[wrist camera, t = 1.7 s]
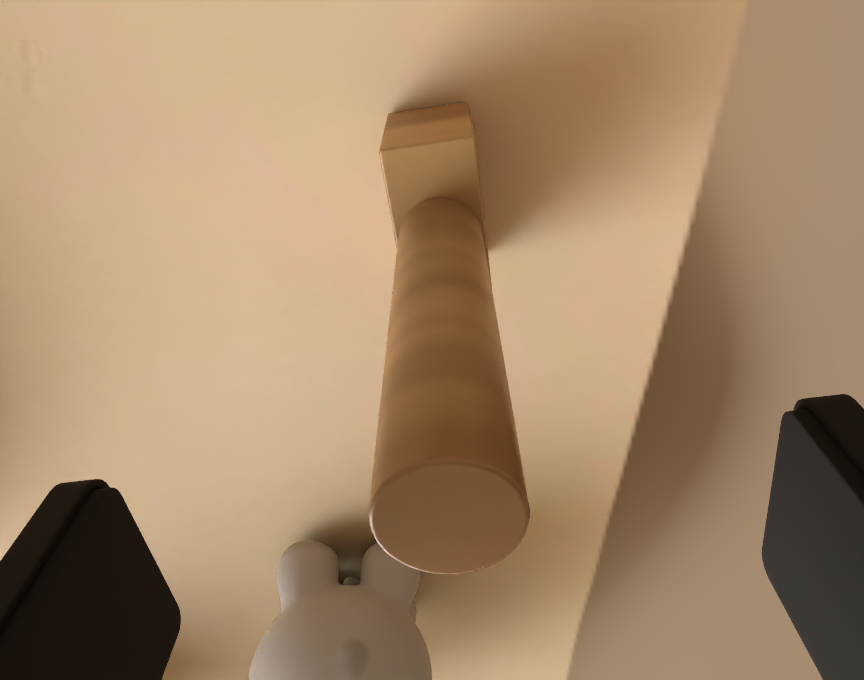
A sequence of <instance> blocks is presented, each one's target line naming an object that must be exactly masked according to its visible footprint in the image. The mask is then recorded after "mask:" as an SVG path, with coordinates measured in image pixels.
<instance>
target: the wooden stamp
mask: <svg viewBox="0 0 864 680" xmlns="http://www.w3.org/2000/svg"><path fill="white" fill-rule="evenodd" d="M379 155H380V160H381V165H382V171H383V176H384V181H385V187H386V192H387V198H388V203H389V208H390V214H391V219H392V224H393V230H394V235H395V240H396V246H397V256H396V265H395V274H394V283H393V292H392V301H391V310H390V320H389V329H388V338H387V347H386V356H385V365H384V374H383V384H382V393H381V402H380V411H379V420H378V429H377V438H376V448H375V457H374V466H373V475H372V484H371V493H370V502H369V524H370V528H371V531H372V533H373V535H374V537H375V539H376V541H377V543H378V544H379V545H380V546H381V548H382V549H383V550H384V551H385V552H386V553H387V554H388V555H390V556H391V557H392V558H394V559H395V560H397V561H398V562H400V563H402V564H404V565H406V566H409V567H411V568H414V569H417V570H420V571H424V572H429V573H436V574H460V573H467V572H472V571H476V570H480V569H483V568H485V567H488V566H490V565H492V564H495V563H496V562H498V561H500V560H502V559H503V558H504V557H506V556H507V555H508V554H510V553H511V552H512V551H513V550H514V549H515V548H516V547H517V545H518V544H519V543H520V542H521V540H522V538H523V536H524V535H525V532H526V529H527V527H528V523H529V518H530V509H529V503H528V497H527V491H526V486H525V480H524V474H523V468H522V462H521V456H520V451H519V445H518V439H517V433H516V427H515V422H514V416H513V410H512V404H511V398H510V392H509V387H508V381H507V375H506V369H505V363H504V358H503V352H502V346H501V340H500V334H499V329H498V323H497V317H496V311H495V305H494V299H493V294H492V285H491V276H490V267H489V258H488V249H487V240H486V231H485V222H484V213H483V203H482V194H481V185H480V176H479V167H478V158H477V149H476V140H475V134H474V130H473V125H472V121H471V116H470V112H469V107H468V104H467V102H462V103H455V104H449V105H442V106H436V107H429V108H422V109H416V110H409V111H402V112H396V113H390V114H388V117H387V121H386V125H385V129H384V133H383V138H382V142H381V146H380V150H379Z"/></svg>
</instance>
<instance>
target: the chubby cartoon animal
mask: <svg viewBox="0 0 864 680" xmlns="http://www.w3.org/2000/svg"><path fill="white" fill-rule="evenodd" d="M338 575H339V563H338V558H337V556H336V554H335V552H334V551H333V550H332V549H331V548H330V547H328V546H327V545H324V544H322V543H320V542H317V541H312V540H306V541H300V542H297V543H295V544H293V545H292V546H291V547H289V548H288V549H287V550H286V551H285V552H284V554H283V555H282V557H281V559H280V562H279V565H278V571H277V586H278V592H279V596H280V601H281V612H280V614H279V615H278V617H277V618H276V619H275V620H274V621H273V623H272V624H271V625H270V626H269V628H268V629H267V631H266V632H265V634H264V635H263V637H262V639H261V641H260V643H259V645H258V647H257V649H256V652H255V654H254V657H253V660H252V664H251V667H250V672H249V678H248V680H432V670H431V663H430V658H429V653H428V650H427V647H426V644H425V641H424V639H423V637H422V635H421V633H420V631H419V629H418V627H417V626H416V624H415V620H416V602H415V600H414V597H415V595H416V592H417V589H418V586H419V582H420V577H421V571H420V570H417V569H414V568H411V567H409V566H406V565H404V564H402V563H400V562H398V561H397V560H395V559H394V558H392V557H391V556H390V555H388V554H387V553H386V552H385V551H384V550H383V549H382V548H381V546H380V545H379V544H378V543H376V544H374V545H372V546H371V547H370V548H369V549H368V550H367V551H366V552H365V554H364V557H363V560H362V564H361V580H360V583H359V581H358V580H357V579H355V578H353V577H348V578H346V579H345V580H344V582H343V585H341V584H339V582H338Z"/></svg>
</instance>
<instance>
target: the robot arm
mask: <svg viewBox="0 0 864 680" xmlns="http://www.w3.org/2000/svg"><path fill="white" fill-rule="evenodd" d="M762 559H763V563H764V567H765V570H766V573H767V576H768V578H769V580H770V582H771V583H772V585H773V587H774V589H775V591H776V593H777V595H778V596H779V598H780V600H781V602H782V604H783V606H784V608H785V610H786V611H787V613H788V615H789V617H790V619H791V621H792V623H793V624H794V626H795V628H796V630H797V632H798V634H799V636H800V637H801V639H802V641H803V643H804V645H805V647H806V649H807V651H808V652H809V654H810V656H811V658H812V660H813V662H814V664H815V665H816V667H817V669H818V671H819V673H820V675H821V677H822V678H823V680H864V409H863V408H862V407H861V406H860V405H859V404H858V402H857V401H856V400H855V399H853V398H852V397H851V396H849V395H845V394H841V395H832V396H823V397H814V398H806V399H801V400H798V401H797V403H796V405H795V407H794V410H793V411H788V412H785V413H784V415H783V417H782V421H781V427H780V433H779V440H778V447H777V453H776V460H775V466H774V473H773V480H772V487H771V493H770V500H769V506H768V513H767V519H766V526H765V533H764V539H763V546H762ZM180 624H181V615H180V609H179V607H178V604H177V602H176V600H175V598H174V596H173V595H172V593H171V591H170V589H169V587H168V585H167V583H166V581H165V579H164V577H163V575H162V573H161V571H160V569H159V567H158V565H157V563H156V561H155V559H154V558H153V556H152V554H151V552H150V550H149V548H148V546H147V544H146V542H145V540H144V538H143V536H142V534H141V532H140V530H139V528H138V526H137V524H136V522H135V521H134V519H133V517H132V515H131V513H130V511H129V509H128V507H127V505H126V503H125V501H124V499H123V497H122V495H121V494H120V492H119V491H118V490H117V489H115V488H110V487H109V486H108V484H107V483H106V482H104V481H103V480H100V479H94V480H85V481H76V482H67V483H60V484H58V485H56V486H55V487H54V488H53V489H52V490H51V491H50V492H49V493H48V495H47V496H46V498H45V499H44V501H43V502H42V503H41V505H40V506H39V508H38V509H37V510H36V512H35V513H34V515H33V516H32V518H31V519H30V520H29V522H28V523H27V525H26V526H25V527H24V529H23V530H22V532H21V533H20V534H19V536H18V537H17V539H16V540H15V542H14V543H13V544H12V546H11V547H10V549H9V550H8V551H7V553H6V554H5V556H4V557H3V558H2V560H1V561H0V680H161V679H162V677H163V674H164V671H165V669H166V666H167V663H168V661H169V658H170V655H171V653H172V650H173V647H174V644H175V642H176V639H177V636H178V633H179V630H180Z"/></svg>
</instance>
